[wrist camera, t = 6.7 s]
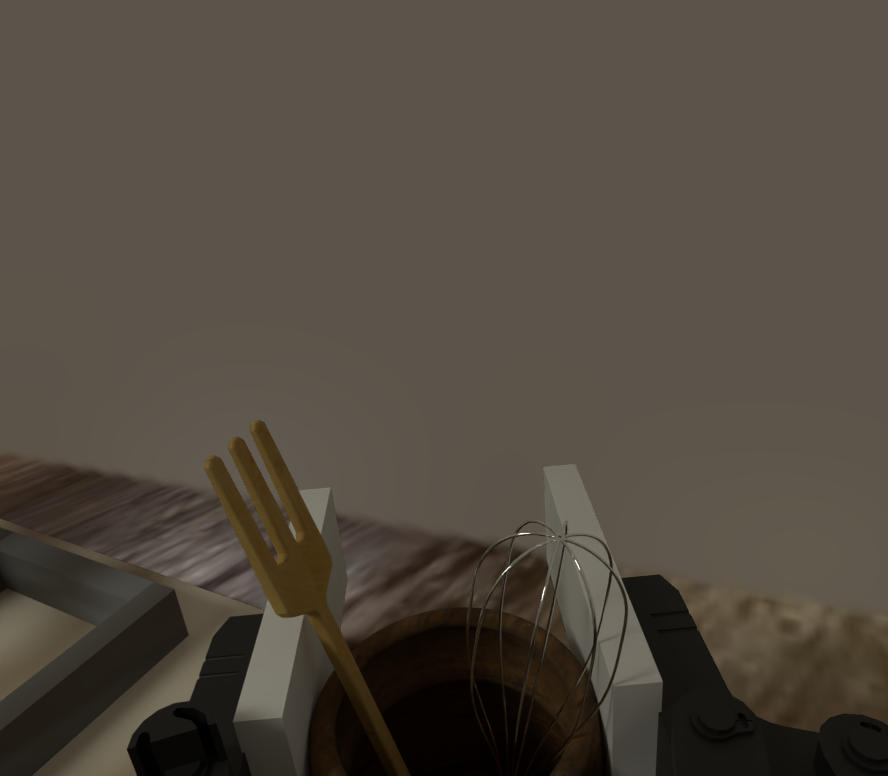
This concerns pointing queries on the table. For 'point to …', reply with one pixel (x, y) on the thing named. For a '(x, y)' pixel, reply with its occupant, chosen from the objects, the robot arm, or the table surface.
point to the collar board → (91, 653)
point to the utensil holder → (423, 658)
